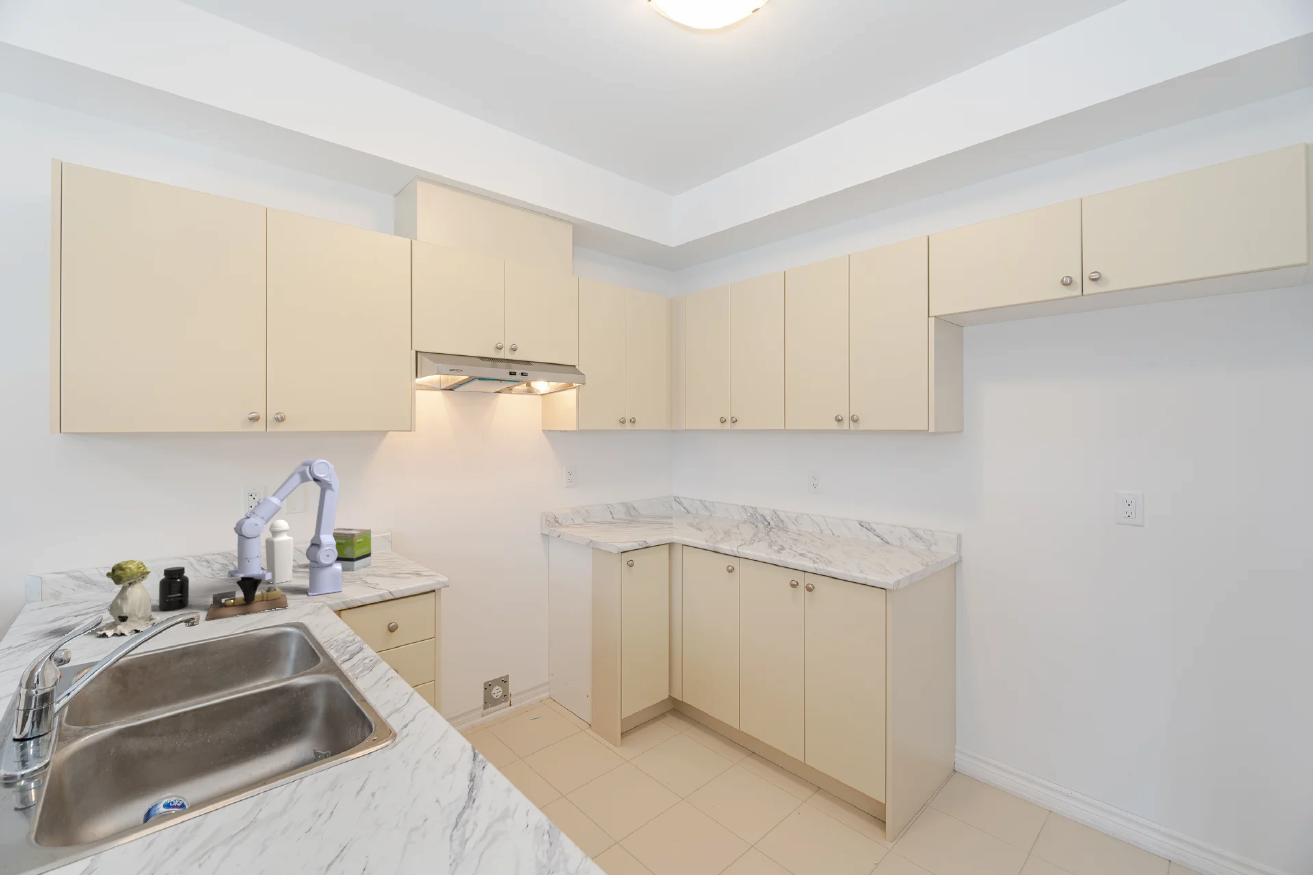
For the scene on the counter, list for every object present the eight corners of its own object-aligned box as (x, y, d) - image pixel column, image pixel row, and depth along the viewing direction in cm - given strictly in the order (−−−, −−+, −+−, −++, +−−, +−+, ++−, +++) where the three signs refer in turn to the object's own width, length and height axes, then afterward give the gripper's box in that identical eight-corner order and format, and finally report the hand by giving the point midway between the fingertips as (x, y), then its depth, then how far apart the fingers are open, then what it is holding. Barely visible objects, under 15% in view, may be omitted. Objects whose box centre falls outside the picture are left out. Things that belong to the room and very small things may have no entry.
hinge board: (285, 595, 182) (285, 582, 182) (288, 608, 169) (287, 593, 169) (211, 606, 171) (210, 592, 171) (207, 620, 158) (207, 605, 158)
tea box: (319, 569, 218) (319, 531, 218) (338, 563, 228) (338, 527, 227) (354, 571, 215) (354, 532, 215) (372, 565, 225) (371, 528, 225)
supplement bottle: (171, 612, 166) (171, 571, 166) (152, 610, 168) (152, 570, 168) (194, 605, 173) (194, 566, 173) (176, 603, 174) (176, 565, 174)
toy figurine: (160, 618, 161) (160, 553, 161) (158, 630, 151) (157, 561, 151) (102, 627, 153) (101, 559, 153) (95, 640, 143) (94, 568, 143)
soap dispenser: (294, 580, 202) (293, 519, 201) (274, 584, 196) (273, 521, 196) (285, 578, 205) (284, 517, 205) (265, 582, 200) (264, 520, 199)
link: (277, 594, 180) (277, 587, 180) (281, 597, 177) (281, 590, 177) (223, 604, 170) (223, 596, 170) (226, 607, 167) (226, 599, 167)
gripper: (217, 558, 169) (217, 604, 169) (256, 561, 165) (256, 607, 165) (240, 554, 176) (240, 597, 176) (277, 556, 172) (278, 600, 172)
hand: (249, 602), depth 171 cm, fingers closed, pressing on link
